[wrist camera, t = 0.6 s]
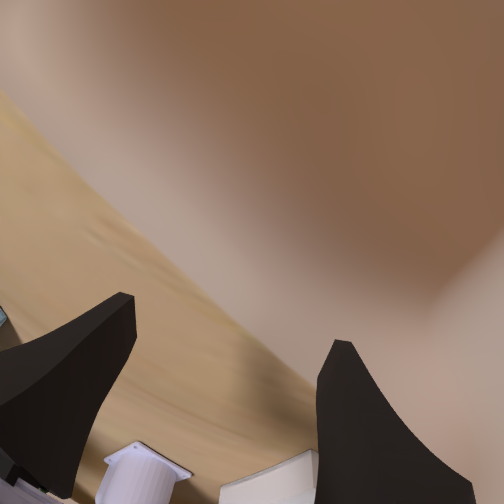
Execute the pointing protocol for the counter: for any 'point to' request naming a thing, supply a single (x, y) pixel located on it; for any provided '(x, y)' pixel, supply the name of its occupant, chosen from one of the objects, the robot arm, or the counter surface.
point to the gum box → (2, 317)
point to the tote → (277, 483)
